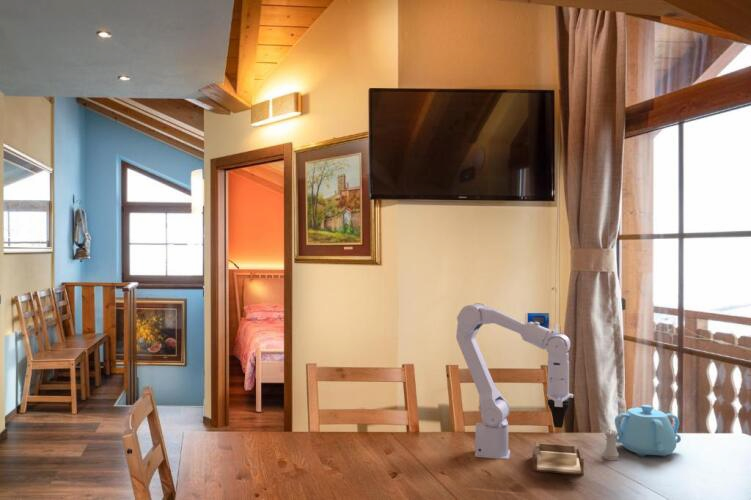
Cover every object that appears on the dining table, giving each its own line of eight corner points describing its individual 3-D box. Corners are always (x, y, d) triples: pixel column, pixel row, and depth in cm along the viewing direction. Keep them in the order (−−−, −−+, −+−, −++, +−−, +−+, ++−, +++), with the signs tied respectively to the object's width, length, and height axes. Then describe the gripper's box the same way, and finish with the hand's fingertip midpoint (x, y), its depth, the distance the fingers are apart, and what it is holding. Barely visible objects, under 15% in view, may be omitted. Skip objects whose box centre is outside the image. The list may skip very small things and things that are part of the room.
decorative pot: (688, 453, 181) (688, 407, 181) (659, 464, 172) (659, 415, 172) (636, 440, 194) (636, 396, 194) (606, 449, 185) (606, 403, 185)
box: (532, 471, 166) (532, 454, 166) (532, 458, 176) (532, 442, 176) (583, 476, 162) (583, 458, 162) (580, 462, 173) (580, 445, 173)
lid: (537, 469, 157) (537, 457, 157) (537, 456, 167) (537, 445, 167) (580, 473, 154) (580, 460, 154) (578, 460, 164) (578, 448, 164)
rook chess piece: (620, 462, 174) (620, 433, 174) (604, 461, 174) (604, 432, 174) (617, 457, 178) (617, 429, 178) (601, 456, 179) (601, 428, 179)
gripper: (574, 384, 164) (574, 435, 164) (572, 373, 178) (572, 421, 178) (546, 382, 166) (546, 433, 166) (547, 372, 180) (546, 419, 180)
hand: (558, 426), depth 172 cm, fingers closed
